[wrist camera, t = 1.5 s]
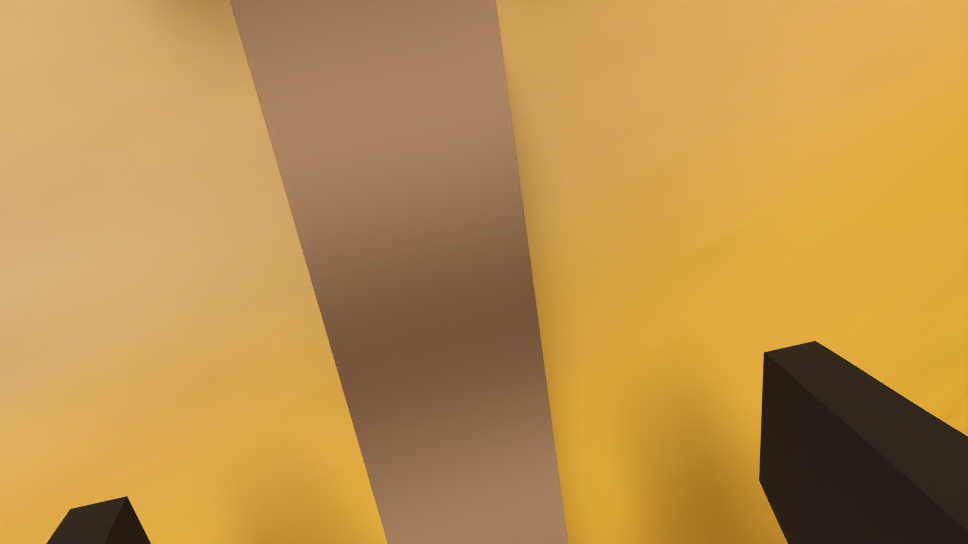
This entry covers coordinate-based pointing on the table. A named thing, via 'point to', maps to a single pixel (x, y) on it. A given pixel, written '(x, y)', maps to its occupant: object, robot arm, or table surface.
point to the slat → (416, 254)
